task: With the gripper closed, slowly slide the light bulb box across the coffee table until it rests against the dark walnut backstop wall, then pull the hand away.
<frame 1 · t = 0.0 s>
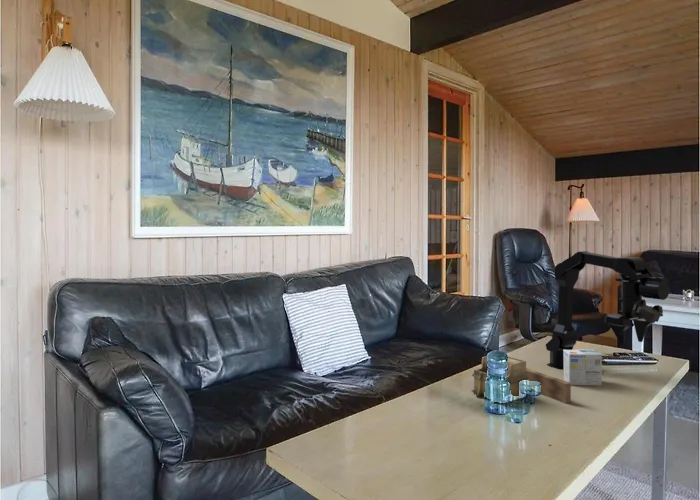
hand: (631, 343, 158), 15 cm above the table, fingers open, 9 cm apart
light bulb box: (582, 383, 165), on the table
backstop wall: (539, 392, 156), on the table
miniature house: (497, 395, 155), on the table
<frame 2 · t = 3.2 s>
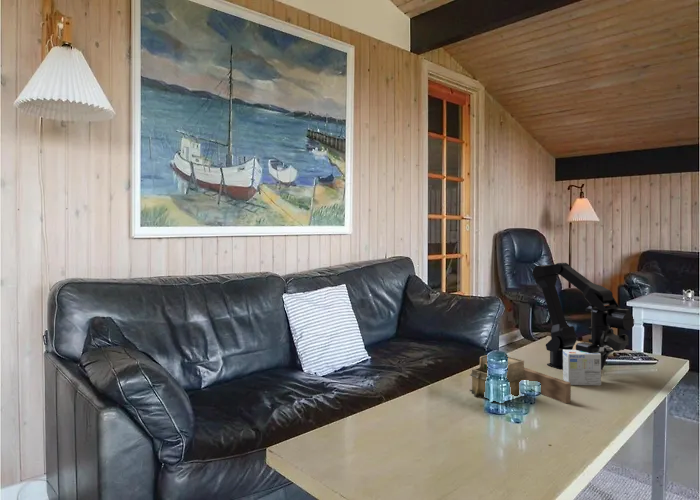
hand: (600, 369, 169), 3 cm above the table, fingers closed
light bulb box: (581, 383, 165), on the table, touching gripper
everything else where it was.
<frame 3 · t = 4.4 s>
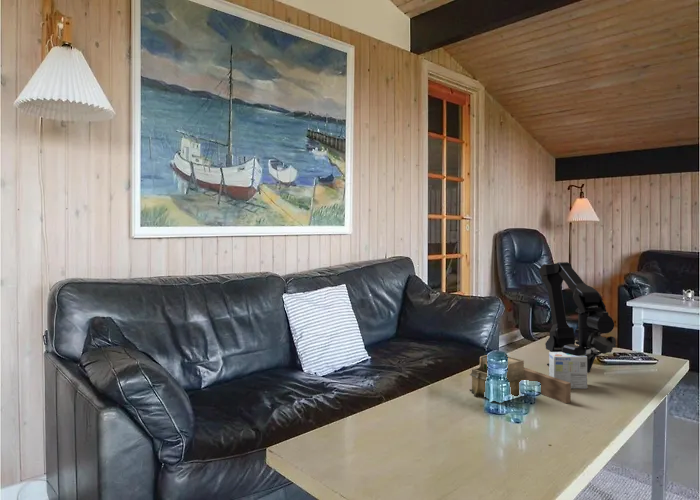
hand: (587, 372, 166), 3 cm above the table, fingers closed
light bulb box: (567, 386, 162), on the table, touching gripper
everything else where it was.
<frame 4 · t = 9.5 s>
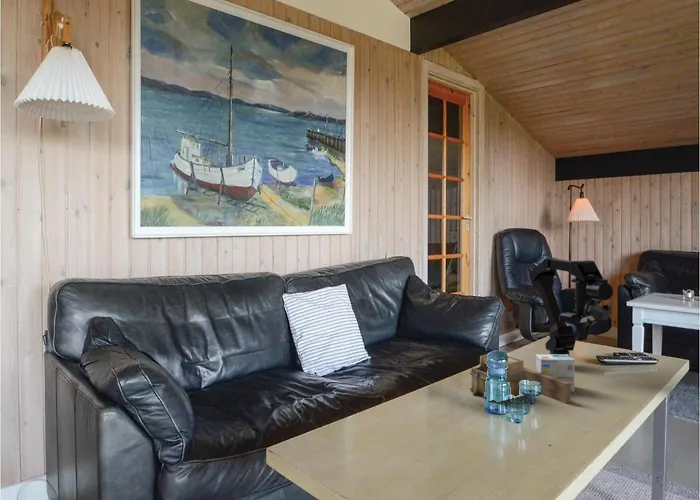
hand: (584, 340, 171), 13 cm above the table, fingers closed
light bulb box: (554, 389, 160), on the table
at the end: light bulb box inside the target area (0.3 cm from its centre), on the table; light bulb box tilted 0°; the gripper is holding nothing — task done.
